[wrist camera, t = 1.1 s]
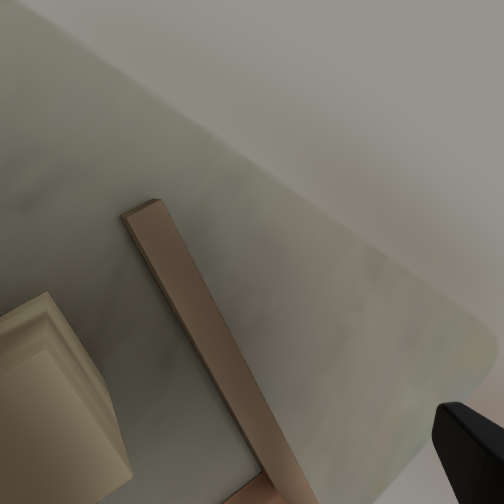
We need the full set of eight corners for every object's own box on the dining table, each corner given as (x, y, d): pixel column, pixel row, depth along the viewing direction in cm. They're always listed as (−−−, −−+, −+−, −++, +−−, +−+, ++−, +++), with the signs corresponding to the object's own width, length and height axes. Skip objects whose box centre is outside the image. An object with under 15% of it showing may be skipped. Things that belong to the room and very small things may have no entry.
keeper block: (-1, 445, 17) (-30, 594, 11) (-72, 354, 16) (-153, 464, 9) (104, 379, 18) (133, 476, 12) (47, 291, 17) (46, 348, 11)
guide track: (36, 723, 19) (32, 849, 15) (-278, 418, 14) (-397, 500, 10) (307, 493, 23) (354, 548, 20) (153, 198, 18) (178, 200, 15)
